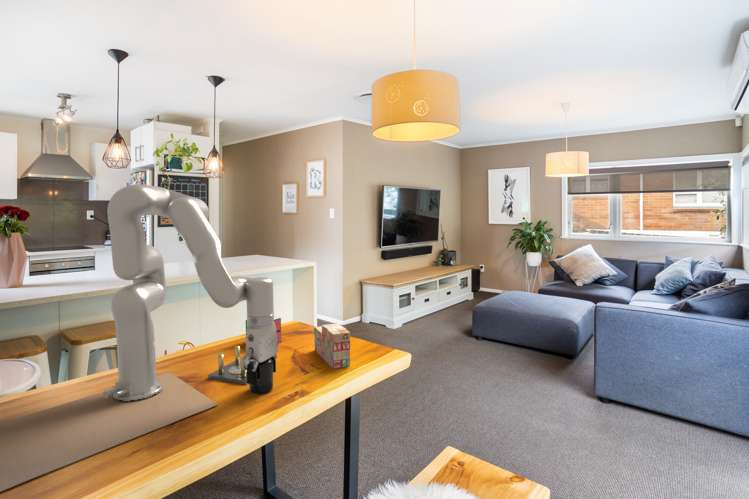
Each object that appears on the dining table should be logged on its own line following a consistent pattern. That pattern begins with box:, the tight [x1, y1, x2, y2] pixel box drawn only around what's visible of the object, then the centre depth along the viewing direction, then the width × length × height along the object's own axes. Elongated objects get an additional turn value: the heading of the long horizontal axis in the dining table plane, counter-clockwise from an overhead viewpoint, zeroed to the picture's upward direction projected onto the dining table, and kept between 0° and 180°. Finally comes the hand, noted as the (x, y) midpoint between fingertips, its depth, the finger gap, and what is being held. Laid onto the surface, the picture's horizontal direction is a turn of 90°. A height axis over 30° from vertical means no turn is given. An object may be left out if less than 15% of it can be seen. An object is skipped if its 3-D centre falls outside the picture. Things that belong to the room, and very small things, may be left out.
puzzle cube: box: [245, 316, 282, 344], centre depth 169 cm, size 10×10×10 cm
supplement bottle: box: [248, 358, 274, 395], centre depth 124 cm, size 7×7×12 cm
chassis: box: [207, 345, 249, 385], centre depth 137 cm, size 14×14×7 cm
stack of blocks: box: [313, 322, 351, 370], centre depth 152 cm, size 21×6×12 cm, turn 25°
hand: (262, 377), depth 124 cm, fingers open, 9 cm apart
